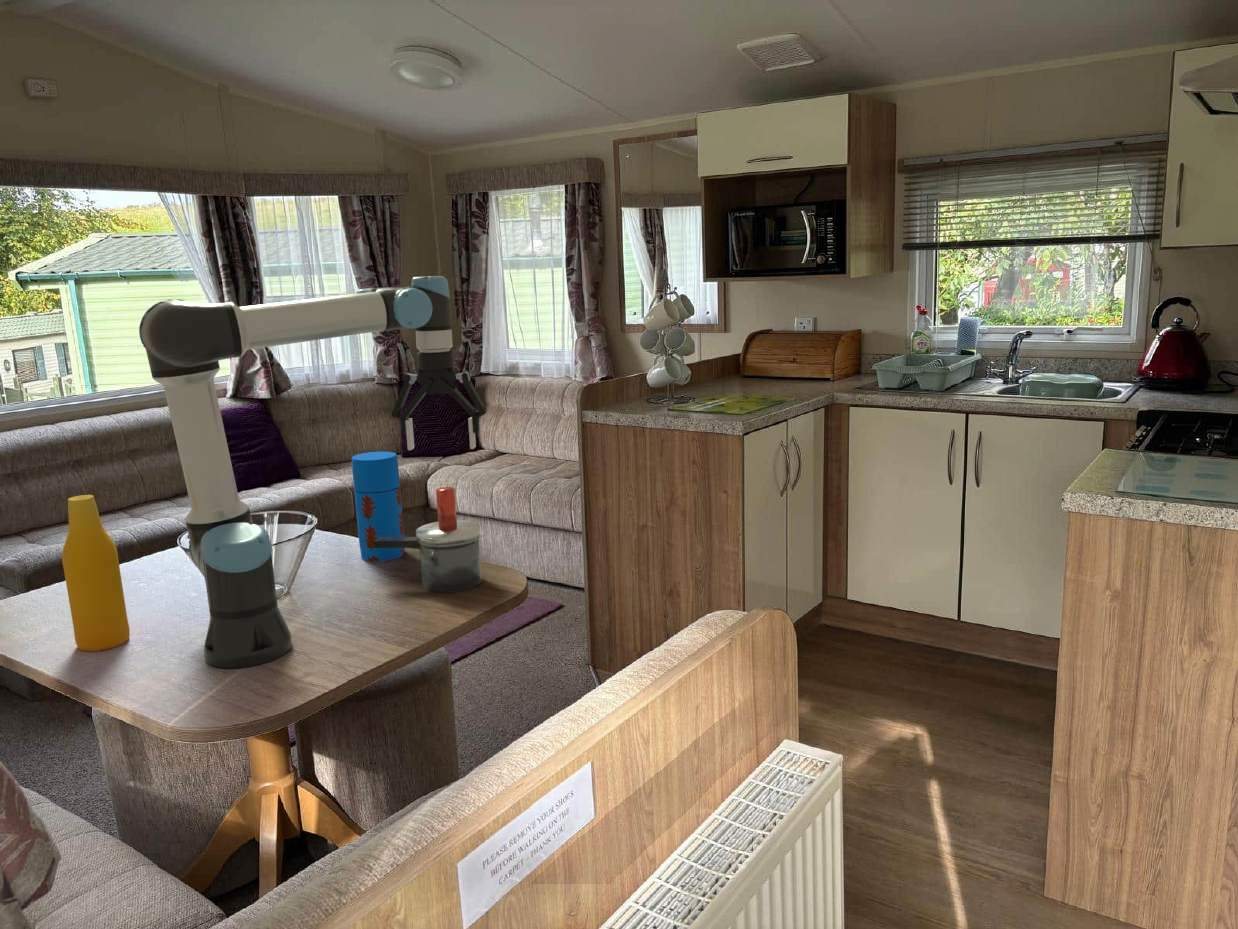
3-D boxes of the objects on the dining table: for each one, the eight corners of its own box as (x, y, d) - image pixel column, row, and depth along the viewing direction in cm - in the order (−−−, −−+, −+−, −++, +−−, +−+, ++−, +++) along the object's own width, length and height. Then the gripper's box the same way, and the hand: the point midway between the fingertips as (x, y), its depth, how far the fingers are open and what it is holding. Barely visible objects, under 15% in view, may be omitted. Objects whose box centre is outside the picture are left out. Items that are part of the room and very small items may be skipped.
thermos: (352, 561, 224) (343, 460, 219) (371, 547, 235) (363, 451, 229) (394, 562, 223) (386, 460, 217) (412, 548, 233) (404, 451, 227)
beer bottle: (65, 648, 177) (40, 501, 170) (109, 630, 185) (86, 490, 179) (98, 655, 173) (74, 505, 167) (141, 637, 181) (119, 493, 175)
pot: (476, 592, 200) (473, 543, 198) (370, 594, 201) (365, 545, 199) (488, 571, 213) (485, 525, 211) (388, 573, 215) (384, 527, 212)
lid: (473, 544, 197) (470, 496, 195) (409, 545, 198) (405, 497, 196) (485, 525, 211) (482, 481, 209) (425, 526, 212) (421, 482, 210)
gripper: (496, 347, 199) (502, 443, 203) (382, 350, 200) (390, 446, 205) (490, 350, 192) (496, 450, 196) (371, 353, 193) (380, 453, 197)
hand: (442, 448), depth 200 cm, fingers open, 13 cm apart
